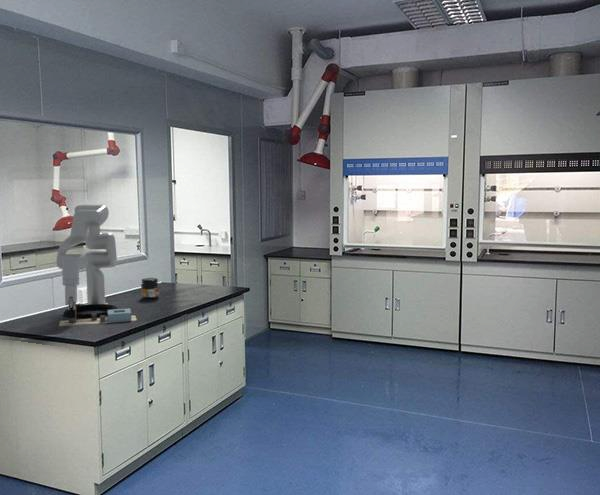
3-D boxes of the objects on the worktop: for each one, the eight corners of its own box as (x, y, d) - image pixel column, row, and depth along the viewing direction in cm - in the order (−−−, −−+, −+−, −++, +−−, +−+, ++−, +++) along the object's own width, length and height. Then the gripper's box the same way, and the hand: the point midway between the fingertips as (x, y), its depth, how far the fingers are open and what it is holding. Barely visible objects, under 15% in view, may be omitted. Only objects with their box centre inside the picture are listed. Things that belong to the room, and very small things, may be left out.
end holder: (107, 317, 283) (107, 309, 283) (130, 315, 287) (130, 308, 287) (108, 322, 273) (108, 314, 272) (131, 320, 277) (131, 312, 276)
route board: (60, 323, 276) (59, 315, 276) (135, 317, 288) (135, 310, 288) (58, 328, 265) (58, 320, 264) (136, 322, 277) (136, 315, 277)
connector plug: (68, 322, 273) (68, 306, 273) (76, 321, 275) (76, 305, 274) (68, 323, 270) (67, 307, 269) (76, 323, 271) (75, 307, 270)
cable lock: (80, 317, 275) (50, 308, 294) (81, 324, 276) (50, 315, 294) (128, 307, 297) (97, 300, 315) (129, 314, 297) (98, 307, 316)
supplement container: (152, 300, 333) (152, 280, 331) (137, 299, 336) (137, 279, 335) (162, 297, 342) (162, 278, 341) (147, 296, 346) (147, 277, 345)
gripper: (63, 279, 277) (64, 312, 279) (61, 284, 261) (63, 320, 263) (79, 278, 280) (80, 311, 281) (78, 283, 263) (80, 319, 265)
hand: (72, 315), depth 272 cm, fingers open, 9 cm apart
